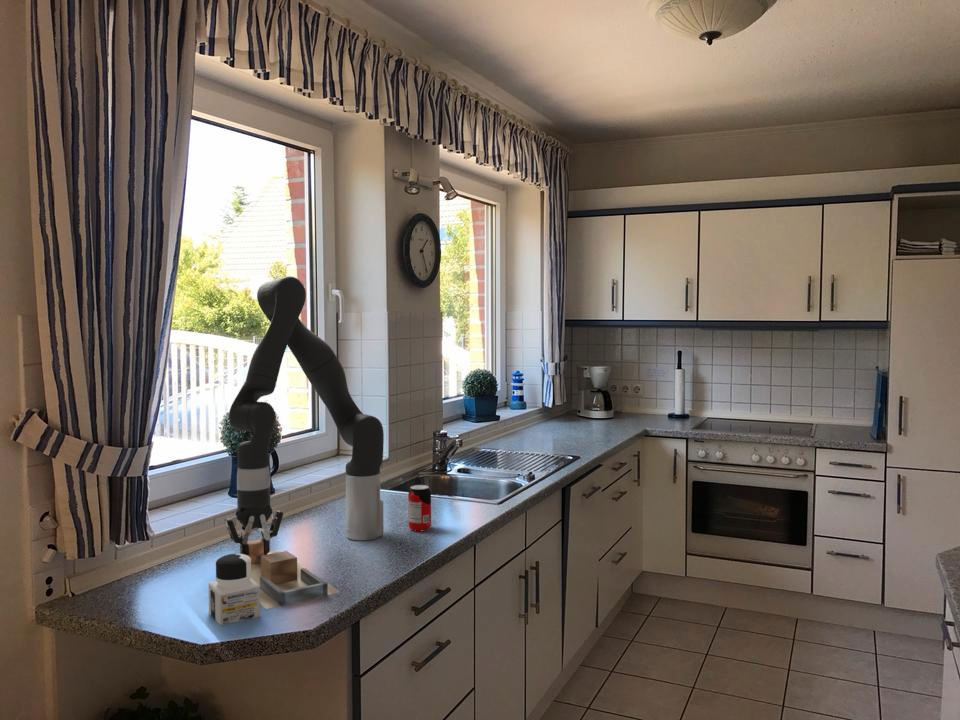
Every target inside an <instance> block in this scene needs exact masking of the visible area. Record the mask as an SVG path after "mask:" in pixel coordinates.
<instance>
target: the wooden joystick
mask: <svg viewBox="0 0 960 720" xmlns="http://www.w3.org/2000/svg"><path fill="white" fill-rule="evenodd" d="M247 544H248V552H249V557H250V558H251V564H259V563H261V577H263V576H265V577H266V578H267V579H269V580H270V581H271V582H272V583H274V584H275V585H276V584H281V583H285V582H290V581H294V580H297V563H298V557H297V556H295V555H293V554H292V553H290V551H288V550H285V551H284V550H283V551H281V552H278V553H273V554H268V555H264V542H263V541H261V539H260V540H259V539H258V540H248V542H247Z"/></svg>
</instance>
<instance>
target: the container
mask: <svg viewBox="0 0 960 720" xmlns="http://www.w3.org/2000/svg"><path fill="white" fill-rule="evenodd" d="M208 615H210V617H212V618H213V619H214V620H215V621H216V622H217V624H219V625H220V626H226V625H229V624H230V625H231V624H234V623H238V622H243V621H247V620H250V619H256V618H259V617H261V604H260V586H259V585H258V584H257V583H256V582H255V581H253V580H252V579H251V558H250V557H249V556H247V555H244V554H240V553H229V554H226V555H223V556H221V557H219V558H218V559H216V564H215V580H212V581H210V582H208Z"/></svg>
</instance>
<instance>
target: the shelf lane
mask: <svg viewBox="0 0 960 720" xmlns="http://www.w3.org/2000/svg"><path fill="white" fill-rule="evenodd" d="M278 552H282V551H281V550H279V549H274V550H270V551H269V553H268V554H273V553H278ZM216 561H217V560H216ZM216 561H213V564H215V565H216ZM251 579H252V580H253V581H255V582H256V583H257V584H258V585H259V586H260V606H262V607H263V608H264V609H265V610H269V609H275V608H278V607H283V606H287V605H291V604H296V603H300V602H305V601H309V600H313V599H319V598H321V597H322V598H323V597H325V596H326V597H327V596H331V595H335V594H340V593H341V591H340V590H338V589H336V588H335V587H334V586H332V585H331V584H329V583H328V582H327V581H325V580H323V579H322V578H321V577H319V576H318V575H316V574H315V573H313V572H311V571H310V570H309V569H307V568H305V567H304V566H303V565H301V564H300V563H299V562H297V580H294V581H290V582H285V583H281V584H276V585H275V584H274V583H272V582H271V581H270V580H269V579H267V578H266V577H265V576H263V577H261V563H259V564H251Z"/></svg>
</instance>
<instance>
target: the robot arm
mask: <svg viewBox="0 0 960 720" xmlns="http://www.w3.org/2000/svg"><path fill="white" fill-rule="evenodd" d="M306 297H307V293H306V288H305V286H304V284H303V283H302V281H301V280H300V279H298V278H297V277H294V276H290V275H289V276H284V277H279V278H276V279H272V280H269V281H266V282H264V283H262V284H261V285H260V286H259V287H258V289H257V293H256V298H257V299H256V300H257V302H258V303H257V304H258V306H259V308H260V310H261V311H262V313H263V314H264V316H265V317H266V318H267V319H268V321H269V322H270V324H269V325H268V328H267V330H266V331H265V334H264V335H263V337H262V339H261V340H260V342H259V344H258V345H257V347H256V348H255V351H254V353H253V355H252V357H251V360H250V363H249V368H248V370H247V374H246V378H245V382H244V383H243V385H242V386H241V388H240V390H239V392H238V393H237V395H236V396H235V398H234V400H233V402H232V404H231V405H230V408H229V412H228V420H229V424H230V426H231V427H232V428H233V429H234V430H236V431H238V432H253V435H252V437H251V439H250V440H246V441H242V442H240V443H239V444H238V446H237V450H236V451H237V457H236V458H237V472H236V499H237V502H236V504H237V506H236V507H237V510H236V512H235V515H233V516H231V517H226V518H224V521H223V522H224V525H225V526H226V529H227V531H228V534H229V536H230V539H231V541H232V542H234V543H235V544H239V554H244V555H247V556H249V552H248V544H247V542H249V537H250V535H251V531H252V530H254V529H258V530H259V533H260V535H261V538H262V539H260V541H263V542H264V555H268V553H269V551H271V550H270V547H271V546H270V542H271V539H272V538H274V537H278V534H279V533H278V532H279V530H280V526H281V524H282V520H283V516H284V512H283V511H281V510H279V509H276V510H275V509H272V506H271V482H272V481H271V474H270V473H271V472H270V468H269V448H270V443H271V439H272V435H273V431H274V428H275V423H276V412H275V409H274V407H273V406H272V405H271V403H269V402H266V401H259V400H260V399H261V398H262V397H266V396H269V395H271V394H273V393H274V391H275V389H276V386H277V381H278V377H279V374H280V370H281V365H282V363H283V358H284V354H285V352H286V350H287V348H289V350H290V352H291V353H292V355H293V356H294V358H295V359H296V361H297V363H298V365H299V366H300V368H301V370H302V372H303V373H304V374H305V377H306V378H307V380H308V382H309V383H310V384H311V385H312V387H313V389H314V390H315V392H316V393H317V395H318V396H319V398H320V399H321V401H322V403H323V404H324V405H325V407H326V409H327V410H328V411H329V414H330V415H331V417H332V420H333V422H334V424H335V426H336V428H337V430H338V433H339V435H340V436H341V439H343V441H344V442H345V443H346V444H347V445H349V446H351V448H352V449H351V450H352V451H351V452H352V453H351V459H350V461H348V462H346V464H345V518H346V519H345V525H346V527H345V534H346V535H345V537H346V539H349V540H353V541H369V540H374V539H377V538H379V537H382V536H384V535H385V534H384V526H385V525H384V501H383V500H382V499H381V466H382V464H383V461H384V459H383V458H384V439H385V438H384V433H385V432H384V427H383V424H382V422H381V421H380V420H379V418H377V417H376V416H374V415H369V414H366V413H363V412H362V411H361V410H360V408H359V407H358V406H357V404H356V402H355V401H354V400H353V398H352V396H351V394H350V391H349V388H348V384H347V383H348V382H347V376H346V374H345V370H344V367H343V366H342V363H341V362H340V360H339V358H338V357H337V355H336V354H335V351H334V350H333V349H332V348H331V346H330V345H329V344H328V343H327V342H326V341H324V340H323V339H322V338H321V337H319V336H318V335H317V334H316V333H314V332H313V331H312V330H310V329H309V328H308V327H307V326H306V325H305V324H304V323H303V322H302V321H301V318H299V317H300V315H301V313H302V311H303V309H304V306H305V303H306ZM270 518H271V519H272V521H271V523H270V526H268V524H267V523H268V521H269V519H270ZM237 521H238V522H239V523H240V524H241V526H240V530H239V531H240V533H239V534H238V532H237V530H236V526H237Z"/></svg>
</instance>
